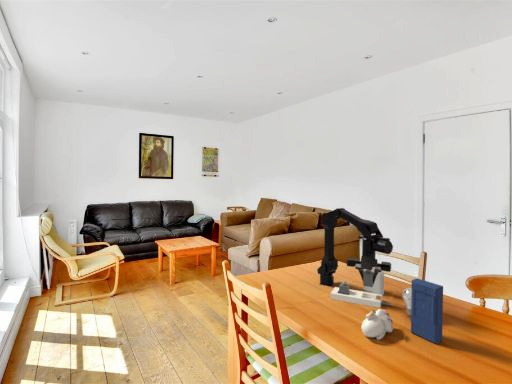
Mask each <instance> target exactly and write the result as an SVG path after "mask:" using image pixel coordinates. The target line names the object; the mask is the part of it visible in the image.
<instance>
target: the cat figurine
mask: <svg viewBox="0 0 512 384" xmlns="http://www.w3.org/2000/svg"><path fill="white" fill-rule="evenodd" d="M361 331H362V333H363V334H364V335H365V337H367V338H376V340H377V341H380V340H382V339H383V338H384V337H385V336H386V333H392V332H393V320H392V318H391V316H390V314H389V313H388V312H387V310H386V309H382V308H378V309H377V310H373V309H372V310H370V311H369V313H367V314H366V315H365V319H364V320H363V321H362V322H361Z"/></svg>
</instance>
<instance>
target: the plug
mask: <svg viewBox="0 0 512 384" xmlns="http://www.w3.org/2000/svg"><path fill="white" fill-rule="evenodd" d="M373 277H374V272H372V271H371V270H368V269H367V271H364V273H363V281H362V283H363V284H362V286H367V287H373V285H374V284H373Z"/></svg>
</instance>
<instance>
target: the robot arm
mask: <svg viewBox="0 0 512 384" xmlns="http://www.w3.org/2000/svg"><path fill="white" fill-rule="evenodd" d="M320 215H321V216H320V219H321V220H320V221H321V225H322V227H323V229H324V255H323V257H322V259H321V263H320V266H318V268H317V269H316V271H317V274H318V275H319V285H320V286H327V287H332V286H333V285H334V284H335V277H334V274H335V273H336V272H337V271H336V270H338V268H339V259H337V258H336V257H335V228H336V227H337V224H338V220H339V219H342V220H344V221H346V222H347V223H349V224H350V225H352V226H354V227H355V228H356V229H357V231H358V232H359V233H360V235H359V236H358V237H357V239H362V240H361V243H362V245H361V246H362V248H361V250H362V251H361V258H360V260H358V258H357V257H349V258H348V259H347V260H346V267H352V268H354V269H355V270H357V271H358V272H359V275H360V277H361V280H362V282H363V273H364V269H368V270H372V268H375V270H374V277H373V284H374V282H375V279H376V276H377V274H378V273H379V272H388V273H389V272H390V273H391V271H392V263H391V262H389V261H381V263H380V262H379V263H378V258H377V259H376V252H377V253H381V254H385V255H390V254H391V253H392V252H393V249H394V245H393V243H392V241H391V238H390V237H384V235H383V234H382V232H381V230H380V229H379V226H378V224H377V222H374V221H371V220H370V219H363V218H361V217H359V216H357V215H356V214H353V213H352V212H350V211H348V210H347V209H345V208H344V207H340V208H339V207H337V208H335V209H333V210H331V211H328V212H323V213H322V214H320Z"/></svg>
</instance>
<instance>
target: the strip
mask: <svg viewBox="0 0 512 384" xmlns="http://www.w3.org/2000/svg"><path fill="white" fill-rule="evenodd" d="M330 300H335V301H339V302H340V301H341V302H346V303H352V304H355V305H357V304H358V305H362V306H367V307H371V308H378V309H382V305H383V306H390V307H392V302H386V301H383V295H380V294H375V293H372V292H369V291H362V290H357V289H350V291H349V295H345V294H339V286H338V287H337V286H335V287H333V289H332V291H331V292H330Z"/></svg>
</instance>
